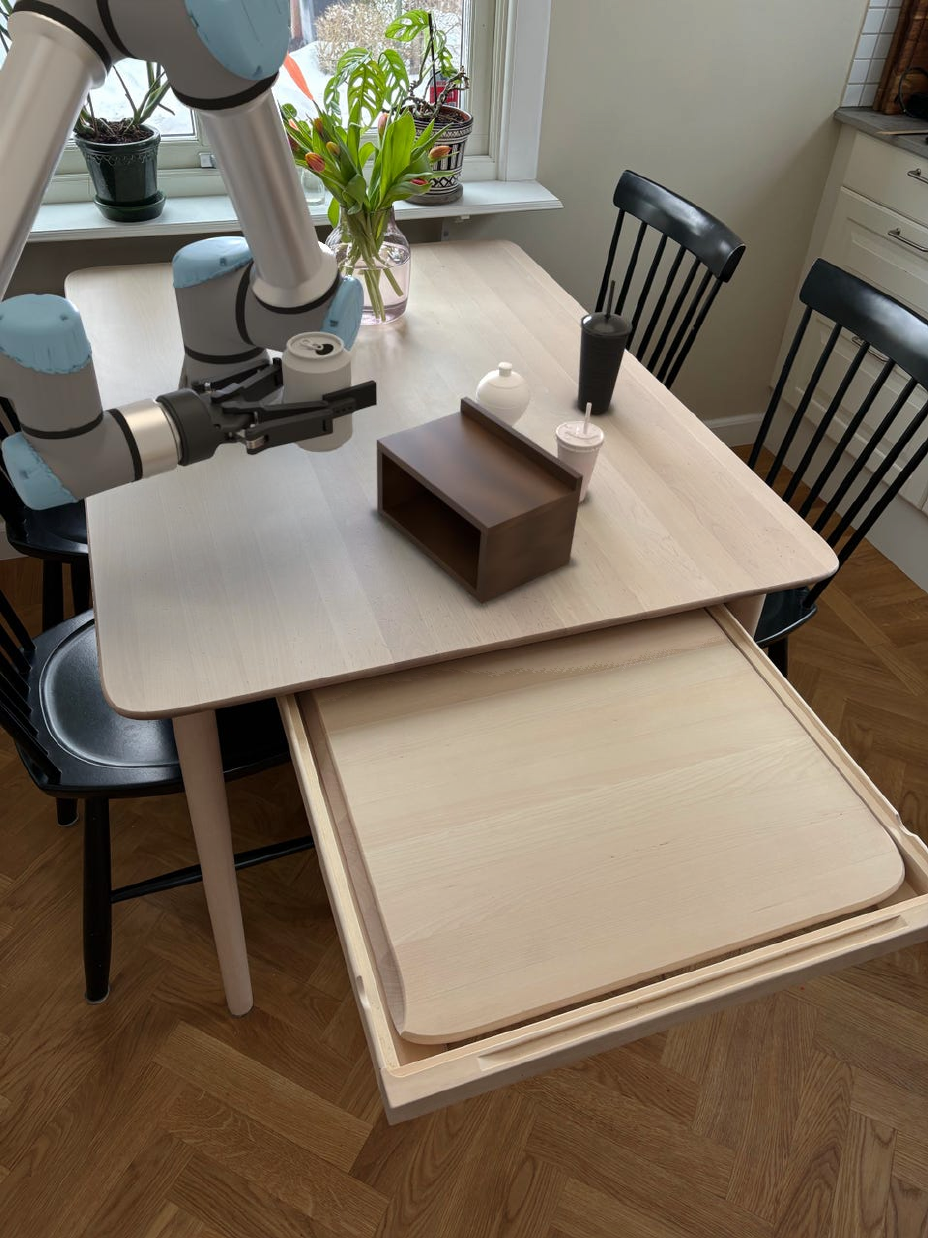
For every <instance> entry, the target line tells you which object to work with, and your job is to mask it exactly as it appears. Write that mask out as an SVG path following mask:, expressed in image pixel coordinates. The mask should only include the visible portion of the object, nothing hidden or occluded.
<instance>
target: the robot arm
mask: <svg viewBox="0 0 928 1238" xmlns="http://www.w3.org/2000/svg"><path fill="white" fill-rule="evenodd" d="M290 19H291V11H290V3H289V0H15V2H14V4H13V8H12V9H11V12H10V14H9V16H8V18H7V22H6V28H7V33H8V35H9V37H10V40H11V44H10V46H9V49H8V51H7V54H6V56H5V58H4V61H3V63H2V66H1V68H0V397H2V398H5V399H9V400H12V402H13V405H14V408H15V411H16V415H17V418H18V421H19V426H20V430H21V431H18V432H15V433H14V434H11V435H9V436H7V437H5V439H3V440H2V443H1V451H2V459H3V462H4V464H5V467H6V470H7V473H8V476H9V478H10V480H11V482H12V484H13V487H14V488H15V491H16V492H17V494H18V496H19V497H20V499H21V500H22V502H23V503H24V504H25V505H26V506H27V507H28V508H30V509H31V510H36V511H42V510H47V509H49V508H54V507H59V506H62V505H66V504H71V503H73V504H75V503H78V502H79V501H81V500H84V499H87V498H89V497H92V496H95V495H98V494H100V493H104V492H107V491H110V490H112V489H115V488H118V487H121V486H124V485H128V484H130V483H131V484H133V483H134V482H135V483H136V482H139V481H141V480H143V479H149V478H151V477H155V476H157V475H160V474H163V473H167V472H170V471H174V470H175V469H176V468H177V466H181V467H188V466H192V465H195V464H197V463H200V462H204V461H207V460H210V459H212V458H213V457H214V456H215V454H216V451H217V450H218V448H219V447H220V446H221V445H228V444H237V443H240V444H242V445H243V446H245V450H246V454H247V455H248V456H256V455H258V454H260V453H261V452H262V453H263V452H265V451H266V450H268V449H272V448H276V447H280V446H284V445H289V444H295V443H294V442H298V441H303V440H307V439H312V438H316V437H320V436H325V435H329V434H332V433H333V419H335V418H338V417H342V416H345V415H348V414H351V413H352V414H353V413H355V412H357V411H361V410H364V409H367V408H371V407H374V406H377V405H378V404H377V402H378V401H377V398H378V397H377V392H378V389H377V388H378V387H377V385H378V384H377V381H375V380H374V379H371V380H369V381H364V382H362V383H358V384H355V385H351V387H348V388H345V389H341V390H338V391H335V392H331V393H328V394H324V395H322V400H321V401H309V402H297V403H285V402H284V403H282V402H283V399H284V397H283V396H284V395H283V388H284V383H283V370H282V357H279V356H275V357H272V358H271V357H270V354H269V352H268V350H271V351H275V352H278V353H282V354H283V352H284V351H285V350H286V349H287V346H286V344H287V342H288V340H290V339H291V338H292V337H293V336H296V335H298V334H301V333H306V332H325V333H330V334H333V335H335V336H338V337H339V338H340V339H341V340H343V342H344V345H345V346H344V348H345V349H346V350H347V351H348V352H349V353H350V351H351V350H352V347H353V345H354V343H355V342H356V339H357V336H358V333H359V330H360V326H361V323H362V319H363V313H364V307H365V292H364V291H365V290H364V285H363V284H362V282H361V280H359V278H357V277H353V275H352V274H351V275H350V274H347V275H345V274H344V275H343V274H342V273H341V271H340V267H339V264H338V260H337V258H336V255H335V254H334V252H333V251H332V250H331V248H330V247H328V246H327V245H326V244H324V243H322V242H321V241H319V238H318V234H317V231H316V228H315V225H314V221H313V217H312V215H311V210H310V208H309V204H308V201H307V196H306V194H305V191H304V187H303V184H302V181H301V177H300V174H299V171H298V168H297V164H296V161H295V157H294V154H293V151H292V147H291V144H290V140H289V137H288V134H287V131H286V128H285V124H284V121H283V117H282V114H281V111H280V108H279V104H278V101H277V97H276V93H275V91H274V87H275V85H276V84H277V81H278V80H279V77H280V74H281V70H282V69H281V68H282V67H283V64H284V62H285V61H286V59H287V55H288V51H289V47H290V43H291V42H290V41H291V31H292V30H291V29H290V27H289V25H288V21H289V20H290ZM125 59H133V60H138V61H143V62H149V63H155V64H159V65H160V66H161V67H162V69H163V71H164V73H165V76H166V78H167V82H168V83H169V87H170V89H171V91H172V93H173V95H174V97H175V99H176V100H177V101H178V102H179V103H180V104H181V105H182V106H183V107H185V108H187V109H190V110H192V111H195V112H196V115H197V118H198V121H199V123H200V125H201V128H202V130H203V132H204V135H205V136H204V137H205V139H206V142H207V143H208V146H209V148H210V151H211V154H212V156H213V160H214V161H215V165H216V167H217V169H218V170H217V171H218V172H219V174H220V175H219V176H220V177H221V180H222V183H223V185H224V188H225V190H226V193H227V195H228V199H229V201H230V203H231V206H232V208H233V210H234V214H235V216H236V219H237V222H238V224H239V227H240V229H241V232H242V234H243V236H215V237H211V238H206V239H202V240H198V241H195V242H192V243H189V244H187V245H185V246H183V247H182V248H180V249H179V250H177V252H176V253H175V255H174V256H173V258H172V263H171V267H172V268H171V269H172V277H173V278H172V280H173V282H172V287H173V289H174V294H175V298H176V299H175V301H176V306H177V311H178V312H177V313H178V318H179V319H178V320H179V327H180V331H181V338H182V344H183V351H184V356H183V360H182V361H183V362H182V366H181V372H180V377H179V381H178V385H177V390H174V391H171V392H167V393H164V394H160V395H158V396H157V397H156V399H155V400H154V398H151V397H148V398H143V399H140V400H137V401H134V402H131V403H127V404H124V405H123V404H122V405H121V406H116V407H113V408H109V409H105V410H104V409H103V404H102V398H101V394H100V388H99V384H98V380H97V375H96V370H95V364H94V359H93V350H92V346H91V341H89V339H88V336H87V333H86V329H85V326H84V322H83V319H82V315H81V313H80V310H79V309H78V307H77V306H76V305H75V304H74V303H73V302H72V301H70V300H69V299H67V298H65V297H63V296H60V295H56V294H50V293H44V294H35V293H26V294H20V295H16V296H12V297H10V298H7V299H6V300H3V299H4V296H5V293H6V291H7V289H8V286H9V284H10V282H11V279H12V277H13V274H14V272H15V270H16V268H17V265H18V263H19V260H20V259H21V255H22V253H23V251H24V248H25V246H26V244H27V242H28V239H29V236H30V234H31V231H32V230H33V227H34V226H35V225H34V224H35V223H36V220H37V218H38V215H39V213H40V210H41V208H42V205H43V203H44V201H45V198H46V195H47V193H48V191H49V188H50V187H51V184H52V181H53V179H54V176H55V174H56V171H57V169H58V168H59V167H58V166H59V165H60V162H61V159H62V157H63V155H64V152H65V150H66V148H67V145H68V143H69V141H70V138H71V136H72V133H73V131H74V129H75V126H76V123H77V122H78V120H79V116H80V114H81V111H82V109H83V107H84V106H85V105H84V104H85V102H86V100H87V97H88V95H89V93H90V91H91V90H98V89H101V88H102V87H103V86H104V85H105V84H106V82H107V80H108V77H109V74H110V72H111V70H112V68H113V67H114V66H115V65H116V64H117V63H118V62H120V61H123V60H125ZM2 300H3V301H2ZM317 410H318V411H317ZM256 420H257V421H256ZM256 423H257V424H256Z"/></svg>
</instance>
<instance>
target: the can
mask: <svg viewBox="0 0 928 1238" xmlns="http://www.w3.org/2000/svg"><path fill="white" fill-rule="evenodd" d="M286 346H287V349H286V350H285V351H284V352H283V353H282V355H281V359H282V370H283V383H284V386H283V393H284V395H283V396H284V404H285V403H297V402H309V401H321V400H322V395H324V394H328V393H331V392H335V391H338V390H341V389H345V388H348V387H351V386H352V363H351V362H352V357H351V354H350V351H349V352H348V351H347V350H346V349H345V348H344V346H345V345H344V342H343V340H341V339H340V338H339V337H338V336H335V335H333V334H330V333H325V332H306V333H301V334H298V335H296V336H293V337H292V338H291V339H290V340H288V342H287V344H286ZM317 411H318V410H317ZM353 426H354V425H353V413H351V414H348V415H345V416H342V417H338V418H335V419H333V433H332V434H329V435H325V436H320V437H316V438H312V439H307V440H303V441H298V442H294V443H293V444H295V445H297V447H299V448H300V449H303V450H304V451H308V452H311V453H328V452H333V451H335V450H338V449H340V448H341V447H343V446H344V444H346V443H348V442H349V440H350V439H351V438H352V436H353V433H354V432H353V430H354V429H353V428H354V427H353Z"/></svg>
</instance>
